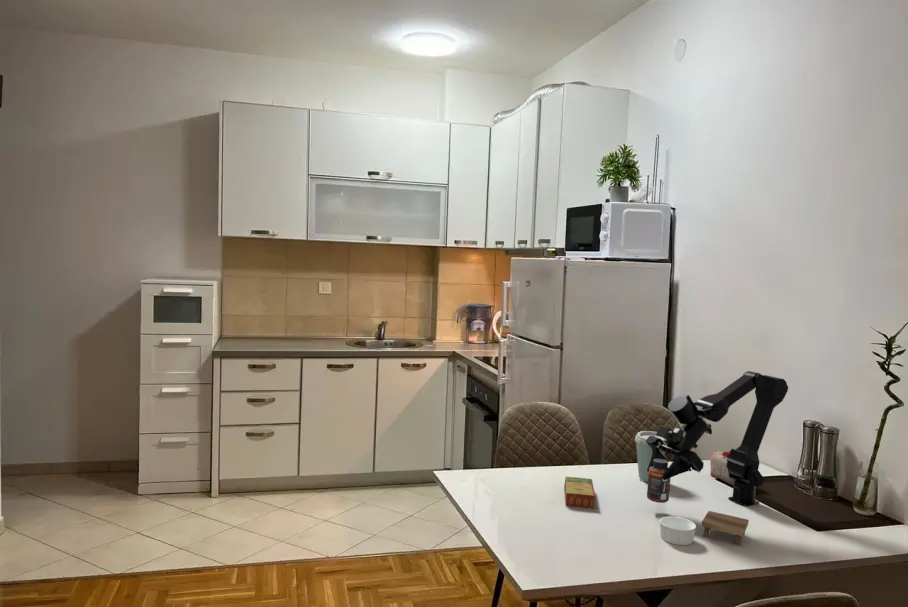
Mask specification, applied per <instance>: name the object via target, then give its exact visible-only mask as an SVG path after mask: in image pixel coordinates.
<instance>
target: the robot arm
mask: <svg viewBox="0 0 908 607" xmlns="http://www.w3.org/2000/svg"><path fill="white" fill-rule="evenodd" d="M753 390H754V394H755V399H756V402H755V405H754V408H753V411H752V413H751V417H750V419H749V422H748V424H747V428H746V430H745V433H744V435H743V437H742V441H741V443H740V445H739V446H738V447H737V448H731V449H730V450H729V452H730V454H729V457H728V458H727V460H726V461H727V466H726V467H727V469H728V473H729V478H733V479H735V481H734V486H733V487H732V488H733V489H732V496H728V500H730V501H733V502H735V503H738V504H740V505H743V506H745V507H748V506H753V505H757V504H758V505H759V504H760V501H758V500H756V492H757V488H759V487H760V486H763V485H764V481H765V478H764V476H763V475H762V473H761V472H760V471H759V467H760V458H759V453H758V452H759V449H760V446H761V444H762V441H763V438H764V436H765V433H766V431H767V428H768V425H769V423H770V420H771V417H772V415H773V412H774V409H775V408H776V407H777V406H779V405H780V404H781V403H782V402H783V401H784V399H785V398H786V395H787V393H788V391H789V385H788V383H787V381H786V380H785V379H784V378H781V377H776V376H771V375H767V374H761V373H760V372H755V371H750V370H747V371H745V372H744V373H743V374H742V376H740V377H738V378H737V379H736V380H733V382H731V383H730V384H729V385H727V386H726V387H724V388H723V389H722V390H720V391H719V392H717V393H713V394H708V395H706V396H703V397H701V398H699V399H698V400H697V401H695V402H693V399H692V398H691V396H690V395H689V394H685V393H683V394H682V395H681V396H678V397H675V398H673V399H671V400H670V402H669V403H668V405H667V406H668V410H669V411H670V413H671V414H672V415H673V417H674V418H675V419H676V421H677V422H678V423H679V424H681V425H682V426H681V427H680V428H678V427H675V428H674V429H673V428H670V427H667V426H664V425H662V424H659V426H658V428H657V431H656V432H657V433H656V435H657V436H660V437H662V438H664V442H665V443H667V444H668V445H667V446H666V445H665V444H664V443H663V441H662V440H661V439H660V438H657V437H655V436H649V437H648V438H647V440H646V441H645V442H646V443H647V444H648V445H649V447H650V448H651V449H652V457H651V460H650V463H649V466H648V469H647V471H648V473H649V468H650V467H651V466H653V460H654V459H664V460H666V461H668V459H667V458H666V455H670V456H673V459H672V463H670V465H668V469H667V470H666V472H665V473H664V475H663V476H662V479H663V480H666V479H669V478H670V479H672V478H673V477H675V476H678V475H680V474H683V473H687V472H692V471H695V472H697V473H701V471H702V470H703V469H704V462H703V460H702V459H701V457H700V456H699V455H698V454H697V452H695V451H692V449H697V448H698V444H697V442H698V441H699V440H700V439H701V437H702V436H703V435H704V434H708V435H712V434H713V430H712V424H710V423H707V421H711V422H714V423H718V422H720V421H721V420H722V419H723V418H724V417H725V416H726V415H727V414H728V412H729V408H730V407H731V406H733V405H734V404H735V403H736V402H737V401H739V400H741V399H742V398H744V397H745V396H746V395H747V394H749V393H750V392H752V391H753ZM706 420H707V421H706ZM664 456H665V457H664Z"/></svg>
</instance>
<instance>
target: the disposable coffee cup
mask: <svg viewBox="0 0 908 607" xmlns="http://www.w3.org/2000/svg"><path fill="white" fill-rule="evenodd" d="M656 433H657V431H650V430H641V431H639V432H637V434H636V435H635V438H634V442H635V445H636V446H635V447H636V448H635V449H636V457H637V468H638V477H639V480H640V479H641V480H640V481H642V480H643V481H642V482H645V481H646V482H645V483H648V475H649V473H648V471H647V469H648V466H649V463H650V460H651V457H652V449H651V448H650V447H649V445H648V444H647V443H646V442H645V441H646V440H647V438H648V437H649V436H655V437H657V438H660V439H661V440H662V441H663V443H664V444H665V445H666V446H667V445H668V444H667V443H665V442H664V438H662V437H660V436H657V435H656ZM664 457H665V458H666V455H665V456H664Z"/></svg>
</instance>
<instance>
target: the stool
mask: <svg viewBox="0 0 908 607" xmlns="http://www.w3.org/2000/svg"><path fill="white" fill-rule="evenodd" d="M748 526H749V519H747V518H743V517H739V516H733V515H729V514H726V513H721V512H716V511H712V510H708V511H707V513H706V514H705V515H704V517H703V519H702V520H701V527H703V534H702V535H703V537H704V538H707V539H709V538H710V533H711V532H710V531H711V529H712V530H715V531H719V532H723V533H728V534H732V535H735V536H734V545H736V546H741V543H742V542H741V541H742V537H745V536H746V535H745V534H746V530H747V528H748Z"/></svg>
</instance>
